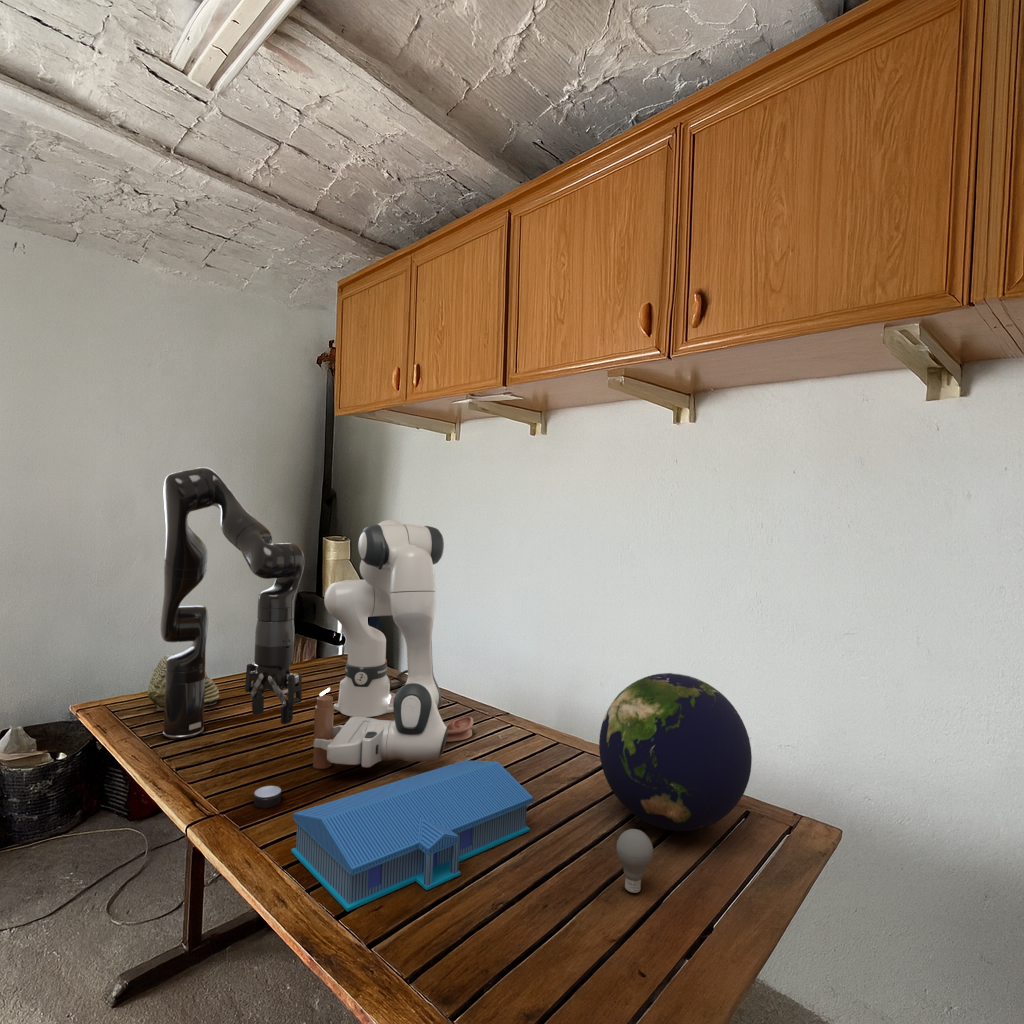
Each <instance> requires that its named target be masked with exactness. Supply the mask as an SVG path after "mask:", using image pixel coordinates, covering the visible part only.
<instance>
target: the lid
mask: <svg viewBox="0 0 1024 1024" xmlns="http://www.w3.org/2000/svg"><path fill="white" fill-rule="evenodd" d="M281 802H282V789H281V787H280V786H276V785H266V786H262V787H259V788H257V789H256V790H254V795H253V805H254V806H255V807H256V808H260V809H270V808H273V807H275V806H278V805H279V804H280V803H281Z"/></svg>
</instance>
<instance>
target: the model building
mask: <svg viewBox="0 0 1024 1024" xmlns="http://www.w3.org/2000/svg"><path fill="white" fill-rule="evenodd" d="M533 803H534V796H532V795H531V793H529V791H528V790H527V789H526V788H525V787H524V786H523V785H521V783H519V782H518V780H516V778H515V777H514V776H513V775H512V774H511V773H510V772H509V771H508V770H507V769H505V767H504V766H503V765H502V764H501V763H500V762H499V761H495V760H494V761H493V760H492V761H491V760H468V759H466V760H460V761H457V762H454V763H452V764H448V765H445V766H442V767H439V768H435V769H431V770H428V771H426V772H425V771H424V772H423V773H419V774H416V775H413V776H408V777H407V778H402V779H400V780H397V781H393V782H390V783H387V784H384V785H380V786H377V787H374V788H370V789H368V790H363V791H361V792H358V793H355V794H352V795H348V796H345V797H342V798H339V799H335V800H332V801H328V802H325V803H322V804H319V805H316V806H313V807H309V808H306V809H303V810H301V811H300V810H299V811H296V812H293V813H292V820H293V821H294V822H295V823H296V839H295V840H296V841H295V844H296V845H295V847H293V848H291V849H290V853H291V854H292V855H293V856H294V857H295V858H296V859H297V860H298V861H299V862H300V864H302V865H303V866H304V867H305V868H306V869H307V870H308V872H309V873H310V874H311V875H312V876H313V877H314V878H315V879H316V880H317V881H318V882H319V883H320V884H321V886H322V887H323V888H325V890H326V891H327V892H328V893H329V894H330V895H331V896H332V897H333V898H334V900H335V901H337V902H338V904H339V905H340V906H341V907H342V908H344V910H345V911H346V912H350V911H353V910H355V909H356V908H359V907H361V906H362V905H363V906H364V905H366V904H368V903H370V902H372V901H374V900H377V899H379V898H381V897H384V896H385V895H388V894H391V893H393V892H395V891H397V890H400V889H401V888H404V887H406V886H409V885H411V884H413V883H415V882H416V883H417V884H418V885H419V886H420V887H422V889H424V890H425V891H429V890H431V889H434V888H435V887H438V886H439V885H441V884H445V883H447V882H448V881H451V880H453V879H455V878H457V877H459V876H461V874H462V872H461V871H460V870H459V863H461V862H463V861H465V860H467V859H469V858H471V857H472V858H473V857H474V856H476V855H479V854H480V853H483V852H486V851H488V850H490V849H492V848H494V847H496V846H498V845H502V844H503V843H505V842H507V841H510V840H512V839H515V838H517V837H519V836H521V835H523V834H526V833H528V832H530V831H531V828H530V827H529V826H527V812H528V811H527V810H528V805H531V804H533Z"/></svg>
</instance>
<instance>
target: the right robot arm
mask: <svg viewBox="0 0 1024 1024" xmlns="http://www.w3.org/2000/svg"><path fill="white" fill-rule="evenodd" d="M357 547H358V548H357V549H358V553H359V557H360V559H361V560H360V563H359V572H360V576H361V577H362V579H345V580H341V581H340V580H339V581H336V582H332V583H330V585H329V586H328V587H327V589H326V590H325V593H324V598H323V601H324V606H325V609H326V611H327V612H328V614H330V615H331V616H332V617H333V618H334V619H336V620H337V621H338V622H339V623H340V624H341V626H342V628H343V629H344V632H345V635H346V642H347V662H346V663H345V668H344V671H345V672H344V673H345V674H344V675H345V677H344V678H343V679H341V680H340V682H339V689H338V690H339V691H338V701H337V702H336V703H333V705H334V711H335V710H336V711H338V712H339V713H340V714H342V715H345V716H348V717H349V719H348V720H347V721H346V723H345V724H339V725H335V726H334V725H333V736H334V737H333V739H329V740H325V739H323V738H319V737H317V738H316V739H315V740H314V739H313V746H314V747H317V748H322V749H325V750H327V760H328V761H329V762H331V763H332V764H336V765H344V766H345V765H347V766H359V765H361V767H362V768H371V767H373V766H374V765H375V764H377V763H379V762H380V763H381V762H382V761H393V760H402V761H404V762H411V763H412V762H415V763H416V762H418V763H419V762H420V763H421V762H424V763H425V762H433V761H436V760H438V759H439V758H441V756H442V755H443V753H444V751H445V748H446V744H447V742H446V741H447V735H448V729H447V727H446V726H445V723H444V720H443V718H442V717H441V714H440V712H439V709H440V707H441V703H442V693H441V689H440V686H439V685H438V682H437V681H436V679H435V676H434V665H433V645H432V644H433V643H432V637H433V628H434V623H435V616H436V606H437V586H436V575H435V569H434V568H435V567H434V565H436V564H438V563H439V562H440V561H441V559H442V558H443V554H444V549H445V543H444V537H443V534H442V532H441V531H440V530H439V529H438V528H437V527H434V526H429V525H424V526H423V525H417V524H409V523H408V524H406V523H405V524H404V523H402V522H400V521H397V520H395V519H385V520H382V521H381V522H379V523H377V524H372V525H367V526H365V527H364V528H363V530H361V533H360V536H359V539H358V543H357ZM388 616H392V620H393V622H394V623H395V625H396V626H397V628H398V629H399V630H400V632H401V633H402V636H403V638H404V641H405V645H406V658H407V659H406V661H407V669H406V670H403V671H401V672H400V673H399V674H397V676H396V679H397V681H399V683H397V684H396V685H392V677H391V676H388V675H387V674H388V663H387V662H388V661H387V658H386V657H387V637H386V636H385V634H384V633H383V632H382V631H381V630H380V629H377V628H375V627H374V626H371V625H369V622H368V618H370V617H371V618H372V617H388ZM405 674H407V679H406V681H405V684H404V679H403V678H401V677H402V676H403V675H405ZM403 684H404V685H403ZM399 687H400V688H399ZM398 688H399V689H398ZM395 689H398V690H397V691H396V693H395V692H391V690H395ZM330 691H331V687H328V688H327V689H325V690H323V691H322V692H320V693H319V696H323V695H326V693H329V692H330ZM390 713H393V718H394V720H387V719H377V718H373V717H378V716H382V715H386V714H390Z"/></svg>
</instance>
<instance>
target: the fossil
mask: <svg viewBox="0 0 1024 1024" xmlns="http://www.w3.org/2000/svg"><path fill="white" fill-rule="evenodd" d="M171 655H172V654H165V655H164V656H163V657H162V658H161V659H160V660H159V662H158V663H157V666H156V667H155V669H154V670H153V672H152V675H151V677H150V680H149V684H148V688H147V697H148V699H149V700H150V701H152V703H153V704H154V706H155V711H158V712H159V711H162V712H163V711H164V705H165V674H166V660H167V658H168V657H169V656H171ZM220 698H221V696H220V690H219V688H218V686H217V685H216V683H215V682H214V681H213V679H212V678H211V677H209V675H208V674H207V672H206V671H205V693H204V707H207V706H213V705H215V704H217V703H218V701H219V699H220Z"/></svg>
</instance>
